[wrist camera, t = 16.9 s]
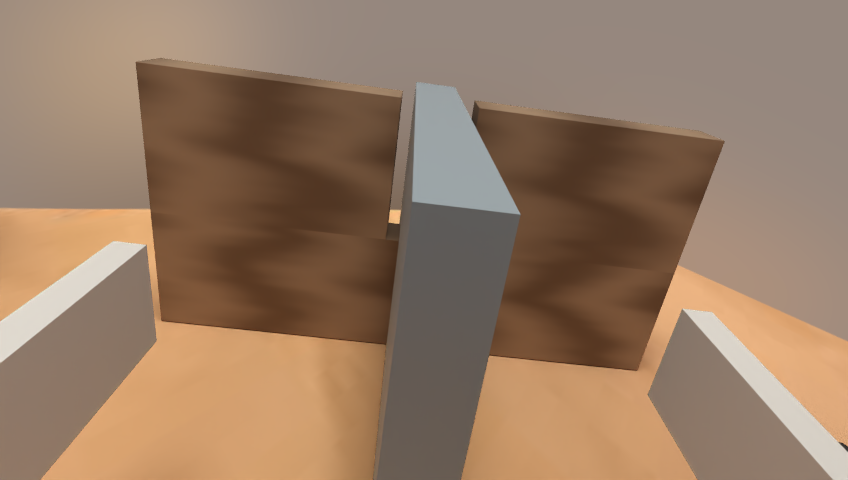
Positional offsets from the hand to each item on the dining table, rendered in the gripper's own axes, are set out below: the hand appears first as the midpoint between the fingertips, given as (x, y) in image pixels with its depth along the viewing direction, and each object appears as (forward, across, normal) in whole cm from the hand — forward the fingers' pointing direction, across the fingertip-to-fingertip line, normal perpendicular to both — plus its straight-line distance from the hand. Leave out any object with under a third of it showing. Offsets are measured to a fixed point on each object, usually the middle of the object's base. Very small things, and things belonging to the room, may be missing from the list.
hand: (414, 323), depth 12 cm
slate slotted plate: (+7, 0, -8) cm, 11 cm away
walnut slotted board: (+11, 0, -8) cm, 14 cm away
